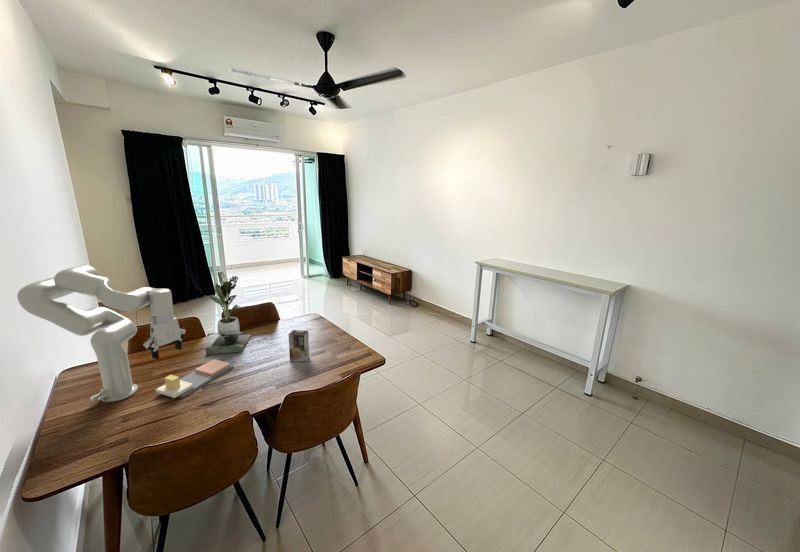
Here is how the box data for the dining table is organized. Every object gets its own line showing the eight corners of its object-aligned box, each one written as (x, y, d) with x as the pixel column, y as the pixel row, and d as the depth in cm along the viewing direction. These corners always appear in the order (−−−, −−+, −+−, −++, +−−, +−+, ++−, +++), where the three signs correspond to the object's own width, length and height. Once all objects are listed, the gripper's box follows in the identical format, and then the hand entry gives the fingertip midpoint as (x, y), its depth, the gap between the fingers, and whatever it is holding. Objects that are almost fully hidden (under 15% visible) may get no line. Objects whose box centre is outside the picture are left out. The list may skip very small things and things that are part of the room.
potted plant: (242, 352, 181) (236, 276, 170) (206, 354, 177) (197, 277, 166) (251, 336, 202) (246, 268, 191) (218, 337, 198) (211, 268, 187)
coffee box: (309, 357, 179) (308, 330, 175) (305, 362, 173) (304, 335, 169) (294, 355, 180) (293, 329, 176) (289, 361, 174) (288, 334, 170)
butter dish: (174, 398, 137) (172, 384, 135) (156, 392, 140) (154, 379, 138) (193, 386, 145) (191, 374, 143) (176, 381, 148) (174, 369, 147)
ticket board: (182, 397, 139) (181, 392, 138) (161, 391, 143) (160, 385, 142) (233, 367, 165) (233, 362, 164) (214, 362, 169) (214, 357, 168)
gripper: (147, 326, 125) (152, 364, 129) (188, 312, 141) (192, 347, 145) (134, 322, 128) (140, 360, 132) (177, 309, 144) (181, 344, 148)
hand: (167, 353), depth 139 cm, fingers open, 9 cm apart
